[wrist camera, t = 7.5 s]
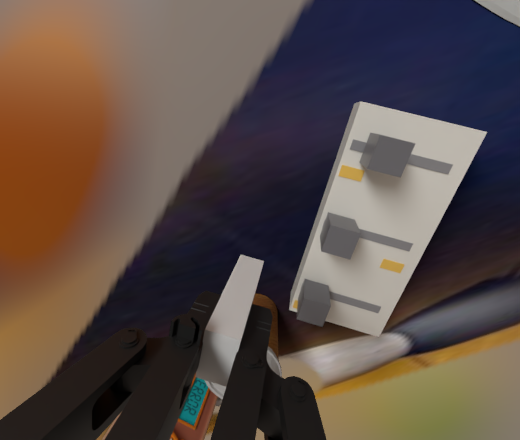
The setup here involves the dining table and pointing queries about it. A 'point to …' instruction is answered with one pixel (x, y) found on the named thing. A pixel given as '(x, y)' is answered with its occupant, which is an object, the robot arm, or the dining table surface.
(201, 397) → the control panel
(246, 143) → the dining table surface
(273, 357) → the disposable coffee cup
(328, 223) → the tab
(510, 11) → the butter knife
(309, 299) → the tab
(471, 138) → the switch bank
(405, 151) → the tab
